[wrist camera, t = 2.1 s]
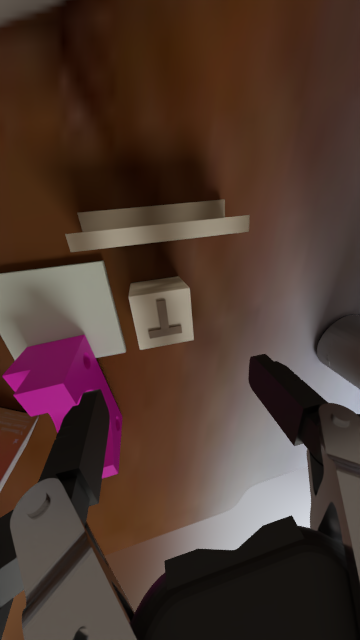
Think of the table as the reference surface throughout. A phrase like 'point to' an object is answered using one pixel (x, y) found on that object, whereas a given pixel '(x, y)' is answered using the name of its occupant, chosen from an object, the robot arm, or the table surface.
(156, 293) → the birch cube
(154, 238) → the screen
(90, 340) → the pad
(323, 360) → the robot arm
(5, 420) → the small box
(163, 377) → the table surface
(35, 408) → the toy block
